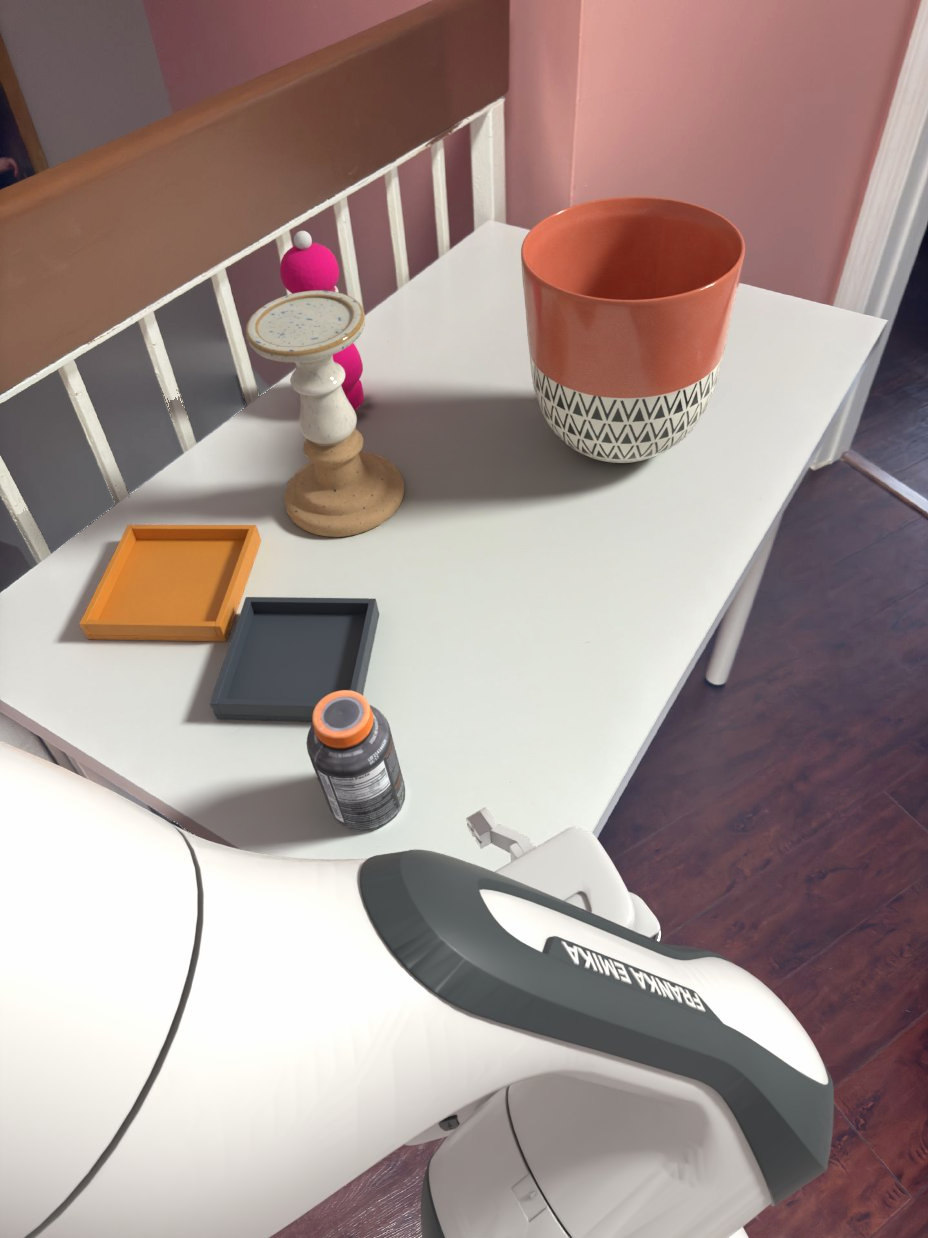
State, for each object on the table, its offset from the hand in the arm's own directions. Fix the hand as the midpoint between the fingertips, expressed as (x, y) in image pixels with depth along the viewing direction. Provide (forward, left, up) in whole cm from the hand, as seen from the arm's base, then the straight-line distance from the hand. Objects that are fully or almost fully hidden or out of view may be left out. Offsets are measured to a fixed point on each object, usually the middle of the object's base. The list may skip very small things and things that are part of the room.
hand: (413, 851), depth 59 cm
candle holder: (-13, +43, -7) cm, 45 cm away
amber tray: (-27, +30, -6) cm, 41 cm away
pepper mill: (-17, +60, -7) cm, 62 cm away
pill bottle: (-5, +8, -7) cm, 11 cm away
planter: (+15, +52, -7) cm, 54 cm away
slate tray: (-13, +21, -6) cm, 25 cm away
